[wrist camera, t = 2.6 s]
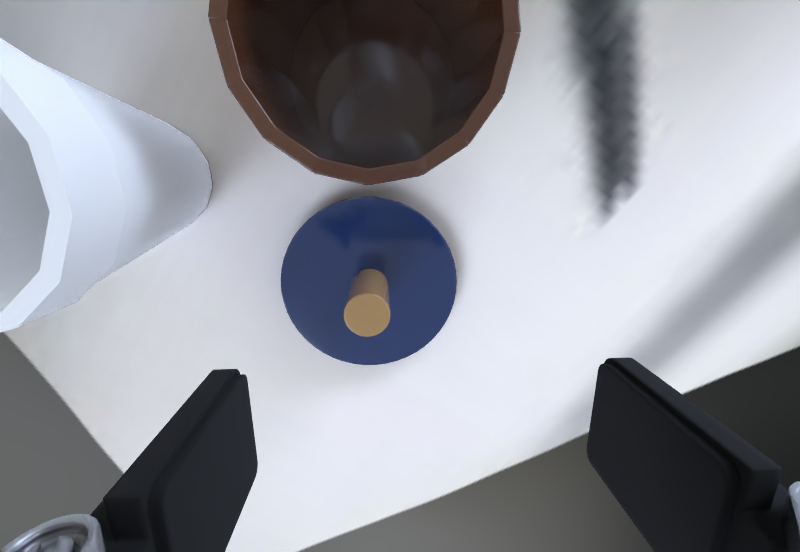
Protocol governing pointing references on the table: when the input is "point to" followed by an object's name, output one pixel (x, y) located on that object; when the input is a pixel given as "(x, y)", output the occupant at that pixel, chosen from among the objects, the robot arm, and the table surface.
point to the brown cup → (367, 78)
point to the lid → (368, 280)
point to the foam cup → (82, 186)
